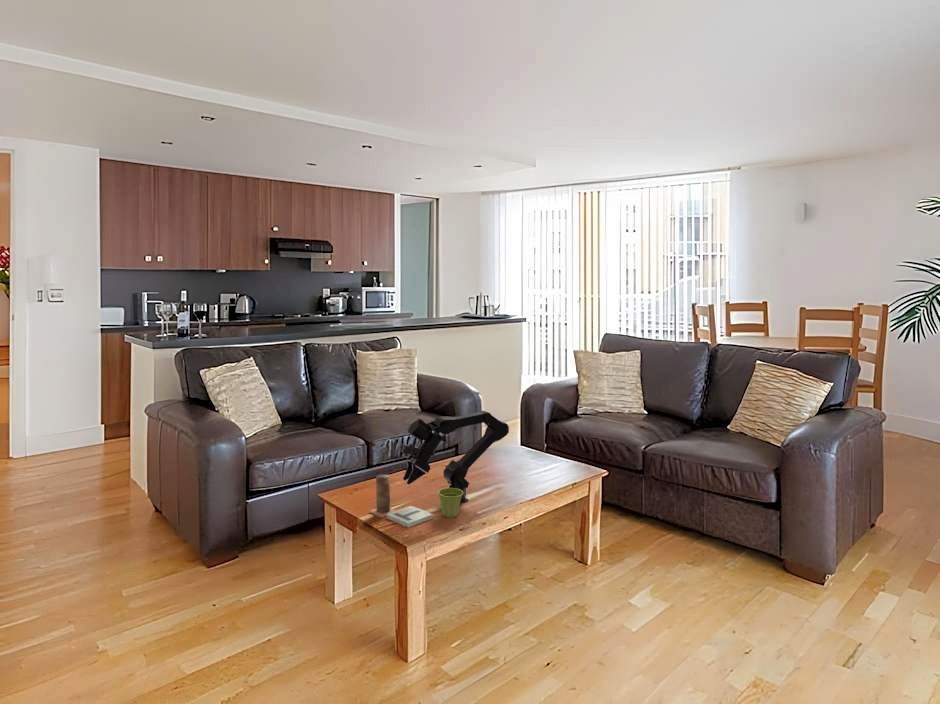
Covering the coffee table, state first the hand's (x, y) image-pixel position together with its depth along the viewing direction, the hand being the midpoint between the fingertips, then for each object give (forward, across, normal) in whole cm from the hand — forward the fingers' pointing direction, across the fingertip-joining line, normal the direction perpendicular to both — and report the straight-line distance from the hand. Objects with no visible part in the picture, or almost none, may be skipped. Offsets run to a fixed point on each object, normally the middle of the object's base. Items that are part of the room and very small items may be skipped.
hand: (405, 481), depth 239 cm
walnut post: (+13, -1, -1) cm, 13 cm away
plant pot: (+1, +6, +20) cm, 21 cm away
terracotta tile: (+14, -1, -1) cm, 14 cm away
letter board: (+10, +6, +7) cm, 14 cm away
